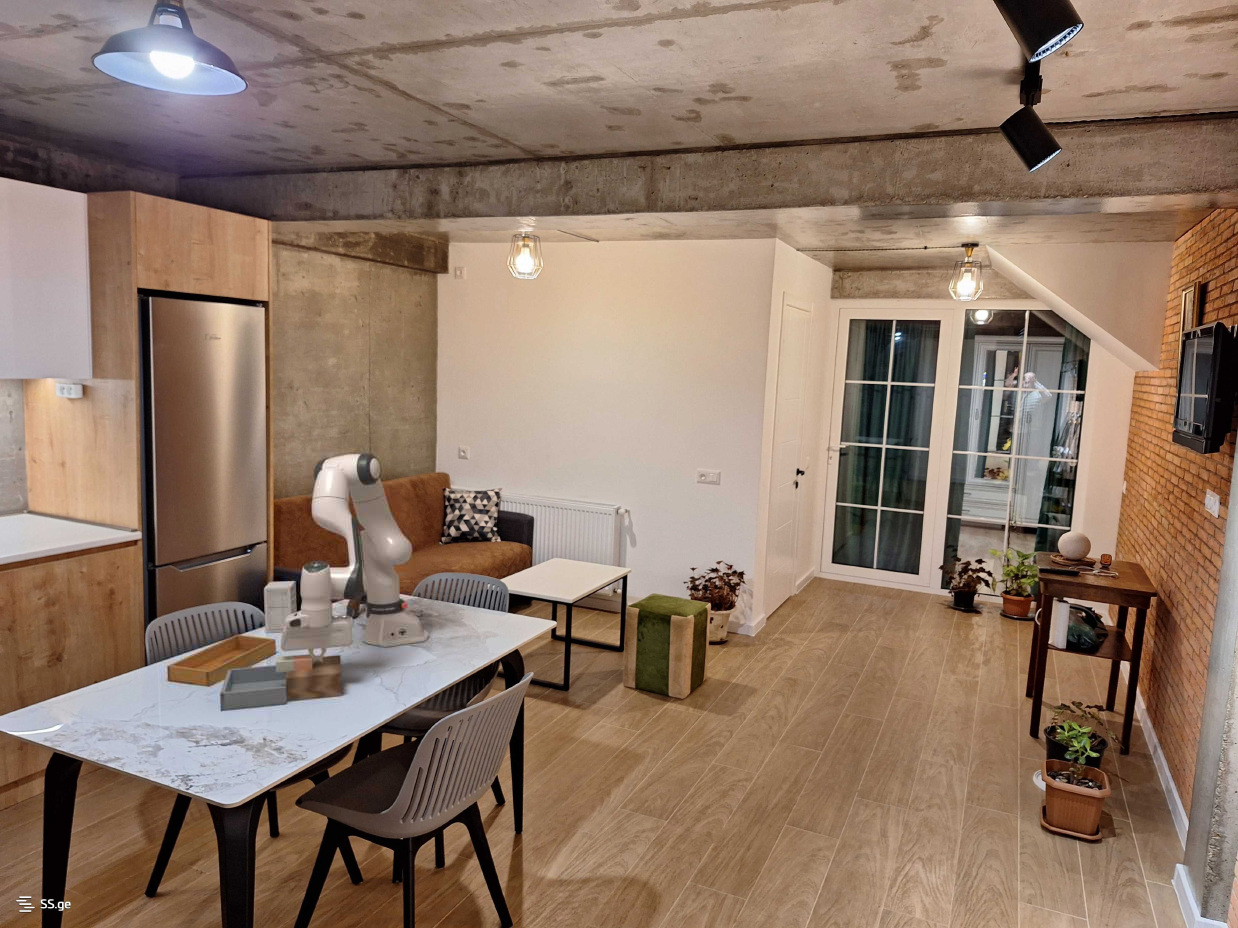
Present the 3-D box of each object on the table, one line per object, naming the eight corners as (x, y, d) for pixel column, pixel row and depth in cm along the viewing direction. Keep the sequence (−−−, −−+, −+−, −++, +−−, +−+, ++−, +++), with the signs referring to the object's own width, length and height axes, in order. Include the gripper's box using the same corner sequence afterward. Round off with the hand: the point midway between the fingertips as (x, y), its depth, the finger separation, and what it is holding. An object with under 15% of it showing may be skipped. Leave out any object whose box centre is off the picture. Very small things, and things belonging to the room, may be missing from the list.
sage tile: (294, 664, 249) (294, 655, 249) (294, 670, 244) (294, 660, 244) (276, 666, 248) (276, 656, 247) (275, 672, 243) (275, 662, 242)
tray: (209, 688, 249) (208, 670, 248) (167, 682, 253) (166, 664, 252) (276, 655, 279) (275, 638, 278) (237, 650, 282) (237, 634, 282)
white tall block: (297, 624, 311) (296, 580, 309) (292, 632, 302) (291, 586, 300) (270, 625, 309) (269, 581, 307) (264, 633, 300) (263, 587, 298)
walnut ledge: (340, 676, 259) (340, 655, 258) (341, 695, 244) (341, 672, 243) (289, 681, 254) (288, 659, 254) (286, 701, 239) (286, 678, 239)
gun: (381, 616, 344) (385, 580, 346) (355, 616, 317) (359, 577, 319) (370, 616, 344) (373, 579, 347) (342, 616, 317) (346, 576, 320)
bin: (289, 679, 256) (289, 663, 256) (286, 704, 237) (285, 687, 237) (228, 685, 251) (228, 669, 250) (220, 710, 232) (220, 693, 231)
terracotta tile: (312, 663, 251) (312, 653, 250) (312, 669, 246) (312, 659, 246) (294, 665, 249) (294, 655, 249) (294, 670, 244) (294, 660, 244)
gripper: (353, 611, 253) (353, 655, 255) (280, 616, 247) (281, 661, 248) (353, 617, 248) (354, 662, 249) (279, 622, 241) (280, 668, 242)
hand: (317, 662), depth 249 cm, fingers closed
